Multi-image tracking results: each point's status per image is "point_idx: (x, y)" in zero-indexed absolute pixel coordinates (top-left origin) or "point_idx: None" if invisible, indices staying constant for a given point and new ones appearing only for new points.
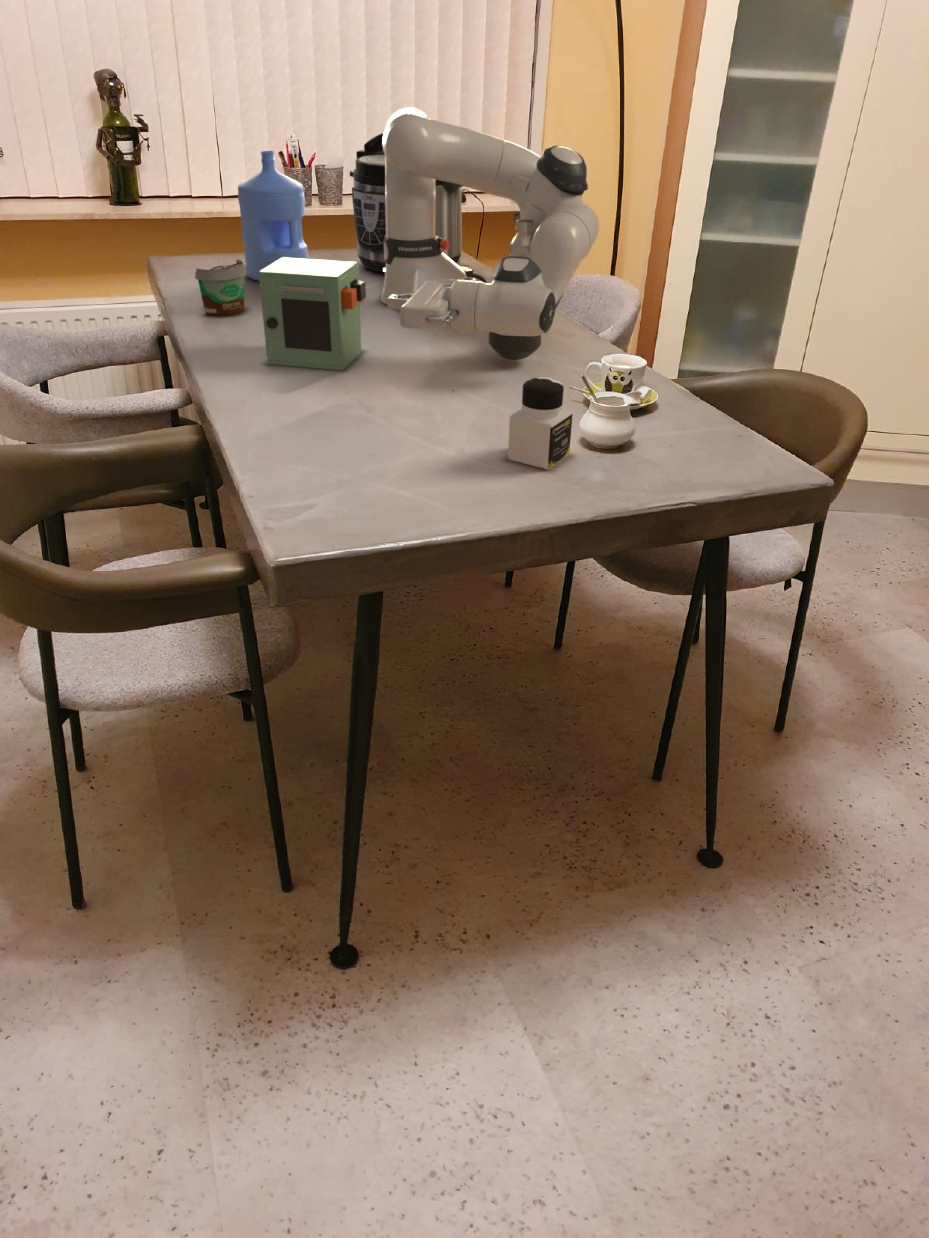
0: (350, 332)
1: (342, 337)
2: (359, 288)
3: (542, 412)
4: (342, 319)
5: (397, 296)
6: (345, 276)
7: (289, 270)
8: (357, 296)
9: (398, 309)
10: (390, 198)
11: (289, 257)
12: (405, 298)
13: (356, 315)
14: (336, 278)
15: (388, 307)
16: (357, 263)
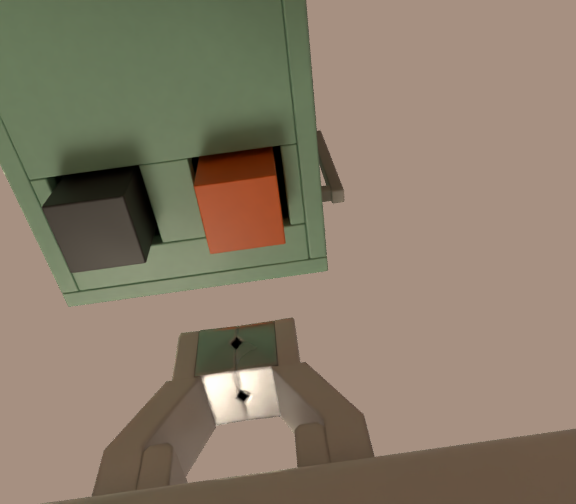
0: (133, 14)
1: (279, 9)
2: (142, 247)
3: None
4: (275, 105)
5: (242, 415)
6: (230, 269)
7: None
8: (133, 208)
9: (320, 377)
10: None
11: None
12: (184, 450)
13: (32, 95)
14: (327, 264)
15: (294, 321)
16: (71, 303)
